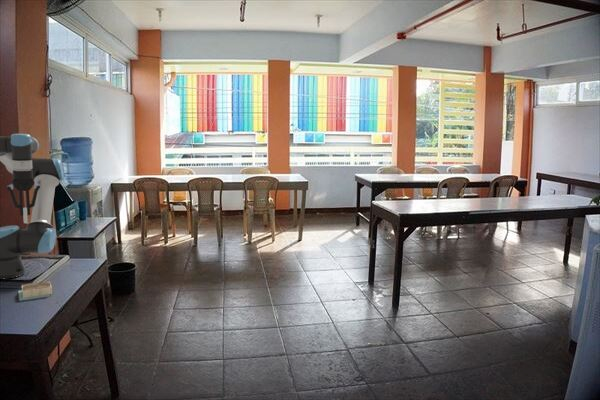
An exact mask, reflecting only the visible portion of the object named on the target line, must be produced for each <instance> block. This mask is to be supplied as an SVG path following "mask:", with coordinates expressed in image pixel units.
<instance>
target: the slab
mask: <svg viewBox="0 0 600 400" xmlns="http://www.w3.org/2000/svg"><path fill="white" fill-rule="evenodd" d="M21 290H22V295H23V298H27V297H33V296H40V295H47V294H50V295H53V287H52V283H51V281H49V280H48V281H42V282H35V283H27V284H21Z"/></svg>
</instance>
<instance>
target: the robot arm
mask: <svg viewBox="0 0 600 400" xmlns="http://www.w3.org/2000/svg"><path fill="white" fill-rule="evenodd" d="M39 148H40V143H39V141H38V140H37V138H35V137H32V136H31V135H30V134H28V133H13V134H11V135H10V136H4V135H3V136H1V135H0V162H1V163H2V164H3V165H4V166H5V169H6V170H7V171H8V172H9V173H10V174H11V175H12V182H11V184H9V185H7V186H6V189H7V190H8V192H9V193H10V196H11V199H12V202H13V205H14V207H15V208H18V209H19V215H20V217H21V216H22V217H23V224H26V225H25V226H26V227H25V228H20V227H19V226H18V225H15V224H14V225H6V226H5V225H4V226H1V227H0V279H3V278H12V277H16V276H19V275H21V274H24V273H25V272H26V271H27V270H26V267H25V264H24V261H23V259H22V257H21V254H45V253H46V254H47V253H50V252H52V251H53V249H54V247H55V245H56V239H57V231H56V229H55V228H54V226H53V225H52V223H51V220H52V214H53V213H52V212H53V207H54V206H53V205H54V198H55V192H56V190H55V189H56V187H57V186H59V185H60V182H61V181H64V177H65V175H64V167H63V164H62V161H61V159H59V158H54V157H53V158H52V157H51V158H46V157H45V158H44V157H43V158H42V157H38V158H37V157H33V154H34V153H36V152H37V151H38V150H39ZM14 188H15V189H16V190H17V191H18V198H19V201H18V202H19V204H18V202H17V198H16V195H15V193H14ZM31 189H34V190H33V194H32V198H31V201H30V191H31ZM23 192H25V203H26V204H25V205H26V207H24V201H23ZM30 202H31V203H30ZM31 208H32V211H31ZM31 212H32V213H31ZM30 215H31V218H30V222H29V220H28V216H30ZM25 274H26V273H25ZM25 274H24V275H25Z"/></svg>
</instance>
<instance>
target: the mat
mask: <svg viewBox="0 0 600 400" xmlns="http://www.w3.org/2000/svg"><path fill="white" fill-rule="evenodd" d="M49 297H51V294H47V295H40V296H33V297H27V298H23V295H22V289H21V290H18V301H19V302H21V301H28V300H36V299H42V298H49Z"/></svg>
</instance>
